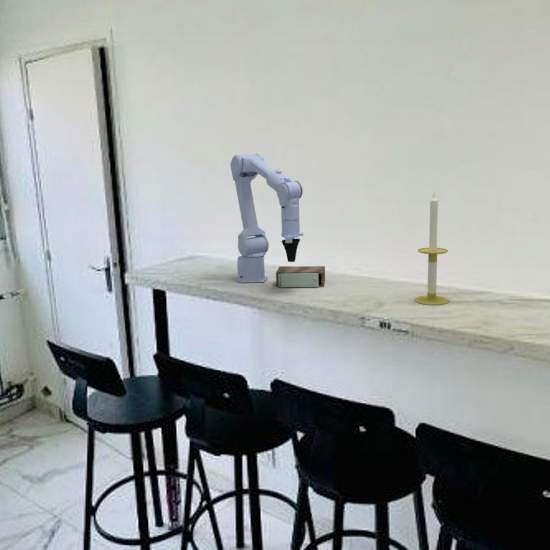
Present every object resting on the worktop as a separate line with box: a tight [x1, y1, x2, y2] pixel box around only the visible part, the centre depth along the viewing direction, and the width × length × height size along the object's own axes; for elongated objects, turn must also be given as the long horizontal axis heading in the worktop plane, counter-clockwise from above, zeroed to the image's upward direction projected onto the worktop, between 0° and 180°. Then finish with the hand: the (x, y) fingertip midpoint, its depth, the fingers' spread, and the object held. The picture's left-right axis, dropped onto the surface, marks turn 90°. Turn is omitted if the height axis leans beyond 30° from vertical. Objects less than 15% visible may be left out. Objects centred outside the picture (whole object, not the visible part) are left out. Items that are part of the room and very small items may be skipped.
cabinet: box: [275, 265, 326, 288], centre depth 207 cm, size 16×10×5 cm, turn 83°
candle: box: [414, 192, 450, 306], centre depth 176 cm, size 10×10×32 cm
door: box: [278, 273, 320, 288], centre depth 201 cm, size 13×2×4 cm, turn 83°
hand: (291, 261), depth 195 cm, fingers closed
